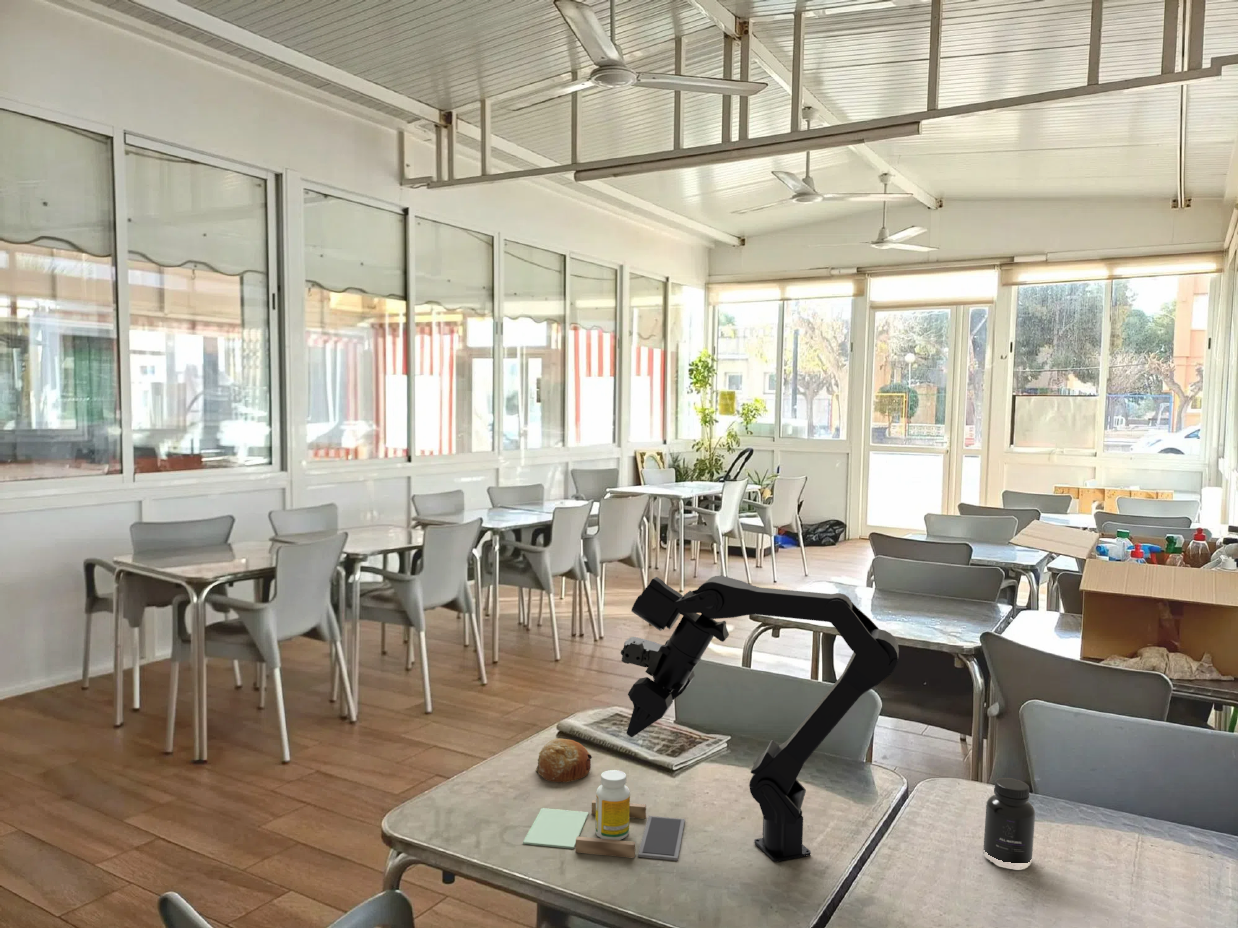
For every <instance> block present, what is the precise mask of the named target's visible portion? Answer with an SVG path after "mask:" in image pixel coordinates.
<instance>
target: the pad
mask: <svg viewBox="0 0 1238 928" xmlns="http://www.w3.org/2000/svg"><path fill="white" fill-rule="evenodd" d="M589 815H590V813H589V811H580V810H567V809H557V808H548V807H547V808H546V807H541V808H540V811H539V812H538V814H537V816H536V818H535V820H534V822H533V823H532V825H531V827H530V829H529V830H528V832H527V834H526V835H525V837H524V839H523V841H522V844H523V845H529V846H530V845H532V846H540V847H541V846H542V847H543V846H544V847H552V848H562V849H569V850H570V849H571V850H572V849H573V850H574V849H575V848H576V838H577V836H578V837H580V835H581V833H582V830H583V828H584V826H585V824H586V821H587V819H588V817H589Z"/></svg>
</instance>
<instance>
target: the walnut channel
mask: <svg viewBox="0 0 1238 928" xmlns="http://www.w3.org/2000/svg"><path fill="white" fill-rule="evenodd" d="M629 811H630V812H629V819H630V818H631V819H640V820H641V819H642V820H645V819H646V818H647V817H646V816H647V804H643V803H634V802H633V803H631V802H630V809H629ZM591 815H595V816H596V799H592V801H591ZM575 853H579V854H581V853H582V854H587V855H588V854H590V855H598V856H610V857H620V858H621V857H622V858H631V859H635V857H636V842H635V841H631V840H630V841H628V840H609V839H601V838H600V837H597V838H596V837H587V836H579V837H578V836H577V838H576V845H575Z"/></svg>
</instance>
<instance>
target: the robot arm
mask: <svg viewBox="0 0 1238 928" xmlns="http://www.w3.org/2000/svg"><path fill="white" fill-rule="evenodd" d="M630 612H632V613H633V614H634V615H636V616H638V617H639V618H640V619H642V620H643V621H645V622H646V623H648V624H649V625H651V626H652V627H653V628H655V629H657V630H658V631H660V632H661V631H664V630H666V628H667V629H668V630H669V631H670V630H671V629H672V628H673V626H675V624H676V622H677V621H678V619H679V617H680V616H681V615H682V617H681V619H680V620H679V622H678V624H677V626H676V627H675V629H674V631H673V633H672V634H671V636H670V637H669V639H667V640H666V642H665V643H664V644H660V643H657V642H655V641H652V640H649V639H644V638H642V637H636V636H631V637H629V638H628V639H627V640H625V641H624V644H623V648H622V649H621V650H620V655H621V662H622V663H624V664H628V665H629V664H631V665H636V666H639V667H642V668H646V670H645V673H646V674H648V675H649V676H650V677H652V679H651V678H650V677H649V676H648V677H647V676H646V677H641V678H640V677H639V679H637V680H636V682H634V683H633V684H632V686H631V688H630V689H629V692H628V693H627V696H628V697H629V700H630V701H631V702H632V705H633V709H632V713H631V717H630V720H629V724H628V725H627V726H628V727H627V730H626V735H627V736H628V737H630V738H634V737H635V736H636V735H638V734H639V733H640V732H642V731H644V730H645V729H646V728H649V726H651V725H653V724H655V722H657V721H659V720H661V719H662V718H664V717H663V716H665V715H666V713H667V712H668V710H669V709H670V707H671V706H672V704H673V703H674V700H675V699H677V698H678V697H679V696H680V695H682V694H683V693H684V692H685V690H687V688H688V686H690V684H691V682H692V681H693V679H694V678H695V671H694V670H695V668H696V667H697V666H698V664H699V663H700V662H701V660H702V657H703V655H704V653H705V652H706V650H707V649H708V647H709V645H710V643H711V642H712V641H713V638H716V639H717V640H718V641H720V642H722V643H723V642H725V641H726V640H727V639H728V638H729V636H730V633H729V630H728V628H727V621H726V620H723V621H716V620H719V619H720V620H721V619H734V618H739V617H744V616H745V617H746V616H755V615H757V616H765V617H766V616H768V617H776V618H777V617H778V618H786V619H796V620H806V621H817V622H825V623H830V624H831V625H832V626H833V627H834V628H835V629H836V630H837V632H838V633H839V635H840V636H841V637H842V639H843V640H844V642H845V643H846V645H847V647H849V648H850V650H851V651H852V654H851V656H850V658H849V660H848V662H847V665H846V667H844V668H845V669H844V670H843V672H842V674H841V675H840V676H839V678H838V679H837V680H836V681H835V683H834V684H833V685H832V686H831V687H830V689H828V691H827V692H826V693H825V695H823V697H822V698H821V700H819V702H818V703H817V704H816V706H815V707H814V708H813V709H812V711H810V713H809V714H808V715H807V716H806V718H805V719H804V720H803V721H802V723H800V724H799V725H798V727H797V729H795V731H794V732H793V733H792V734H791V736H790V737H789V738H788V739H787V740H786V741H784V742H783V743H780V744H779V745H778V744H777V743H776V741H775V740H774V739H771V740H770V742H769V744H768V746H767V748H766V750H764V751H763V753H761V754H759V755H758V756H757V757H756V758H755V761H754V763H753V766H752V768H751V769H750V773H751V774H752V776H751V778H750V780H749V785H748V786H749V793H750V794H751V796H752V798H753V799H754V801H756V802H757V803H758V804H759V808H760V810H761V813H762V816H763V817H762V818H763V819H762V837H760V838H755V839H754V840H753V841H754V843H753V844H755V845H756V846H757V847H758V848H759V849H760V850H761V851H762V852H763V853H764V854H766V856H767V857H769V858H770V859H771V861H773V862H782V861H783V862H784V861H787V860H792V859H799V858H803V857H807V856H806V855H809V856H811V855H810V854H812V852H811V850H810V849H809V848H807V846H805V845H804V844H803V838H804V837H803V835H804V834H803V832H804V816H803V810H802V806H803V802H804V800H805V796H806V792H807V790H806V788H805V787H804V786H803V784H802V783H801V782H800V781H799V780H798V779H797V778H798V776H799V775H800V773H801V770H802V768H803V766H804V765H805V762H807V760H808V759H809V758H810V757H811V755H813V753H814V752H815V751H816V750H817V748H818V747H819V746H820V745H821V744H822V742H823V741H825V739H826V738H827V737H828V736H829V734H830V733H831V732H832V731H833V730H834V728H836V726H837V725H838V723H839V722H840V721H841V720H842V719H843V717H844V716H845V715H846V714H847V713H848V711H849V710H850V709H851V708H852V707H853V706H854V704H855V703H856V702H858V700H859V698H860V697H861V696H862V695H864V694H866V693H867V692H869V691H871V690H872V689H874V688H875V687H878V685H880V684H881V683H882V682H883V681H885V680H886V679H887V678H888V677H889V676H890V675H892V674H893V673H894V672H895V670H896V668H897V667H898V662H899V654H900V653H899V652H900V648H899V644H898V641H897V639H896V637H895V636H894V635H893V634H892V633H891V632H889V631H887V630H885V629H881V628H879V627H878V626H877V624H875V623H874V621H873V620H871V618H869V617H868V616H867V615H866V614H865V613H864V612H863V611H862V610H860V609H859V608H858V607H857V606H856V605H855V603H853V601H852V600H851V599H850V597H849V596H848V595H846V594H844V593H840V592H837V593H823V592H813V591H812V592H811V591H802V590H801V591H800V590H793V589H792V590H791V589H781V588H779V589H778V588H769V587H760V586H756V585H752V584H750V583H747V582H745V581H743V580H741V579H740V580H739V579H736V578H733V577H729V576H725V575H714V576H711V577H710V578H709V579H707V580H706V581H704V582H703V583H702V584H701V585H700V586H698V587H697V589H694V590H689V591H688V592H686V593H685V594H684V595H683V594H681V593H680V592H678V591H677V590H675V589H674V588H672V587H671V586H669V585H668V584H667V583H666V582H665V581H664V580H663V579H661V578H659V577H658V576H655V577H653V578H651V580H650V582H649V584H648V585H647V586H646V587H645V589H643V591H642V593H640V595H639V596H637V598H636V599H635V601H634V603H633V605H632V607H631V611H630Z"/></svg>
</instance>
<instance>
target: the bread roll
mask: <svg viewBox="0 0 1238 928" xmlns="http://www.w3.org/2000/svg"><path fill="white" fill-rule="evenodd" d="M592 758H593V756H592V754H590V752H588V749H587V748H586V747H585V746H584V745H583V744H581V743H580V742H578V741H575V740H573V739H569V738H567V739H566V738H559V737H558V738H553V739H551V740H549V741H548V742H547V743H546V744H545V745H544V746H543V747H542V748H541V750H540V751H539V752H538V759H537V766H536V769H535V772H537V773H538V774H539V775H540V777H542V778H543V779H544V780H545V781H548V782H552V783H568V782H573V781H574V782H575V781H577V780H581V779H583V778H585V777H586V776H588V774H589V773H590V770H591V767H592V763H591V760H592Z"/></svg>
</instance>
